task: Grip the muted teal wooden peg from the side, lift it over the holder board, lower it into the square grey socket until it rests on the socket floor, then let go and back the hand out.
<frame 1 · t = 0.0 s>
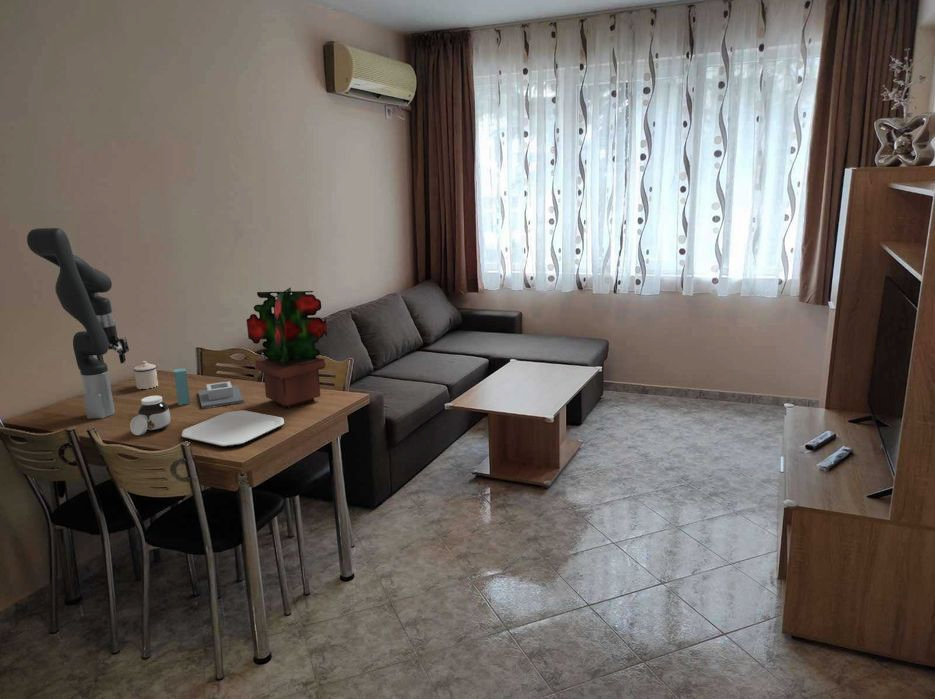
hand: (112, 362, 269), 17 cm above the table, tool pointing down, fingers open, 8 cm apart
teacup with lid: (145, 386, 295), on the table
spread jar: (151, 431, 243), on the table
teal peg: (184, 403, 272), on the table
potted plant: (293, 401, 271), on the table
plate: (234, 432, 240), on the table
socket holder: (220, 397, 277), on the table
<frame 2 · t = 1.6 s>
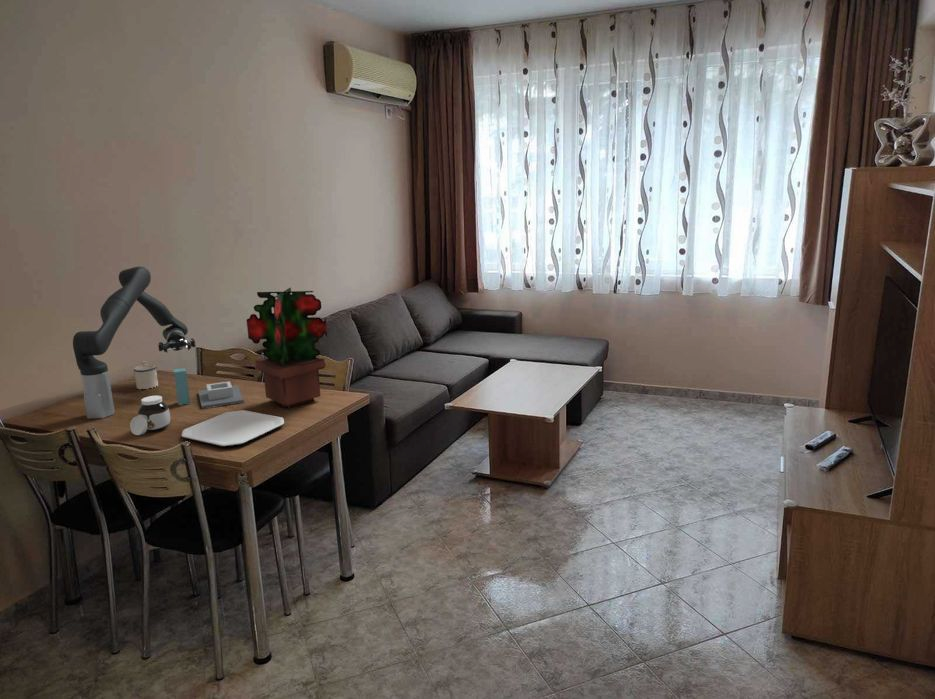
hand: (177, 348, 277), 20 cm above the table, tool horizontal, fingers open, 8 cm apart
nothing on the table moved.
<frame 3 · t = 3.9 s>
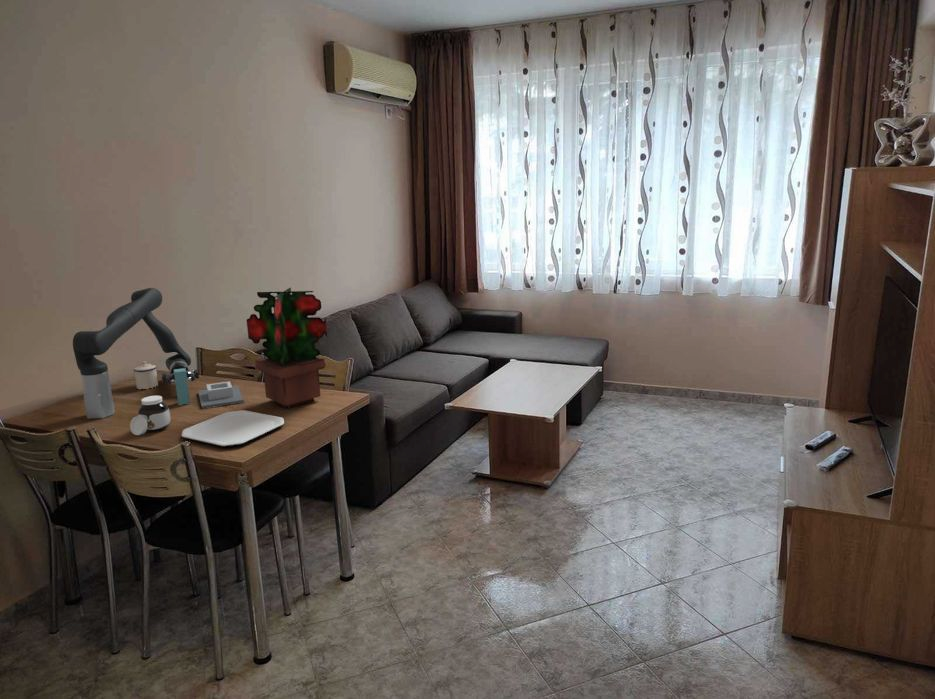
hand: (181, 380, 275), 8 cm above the table, tool horizontal, fingers open, 8 cm apart
nothing on the table moved.
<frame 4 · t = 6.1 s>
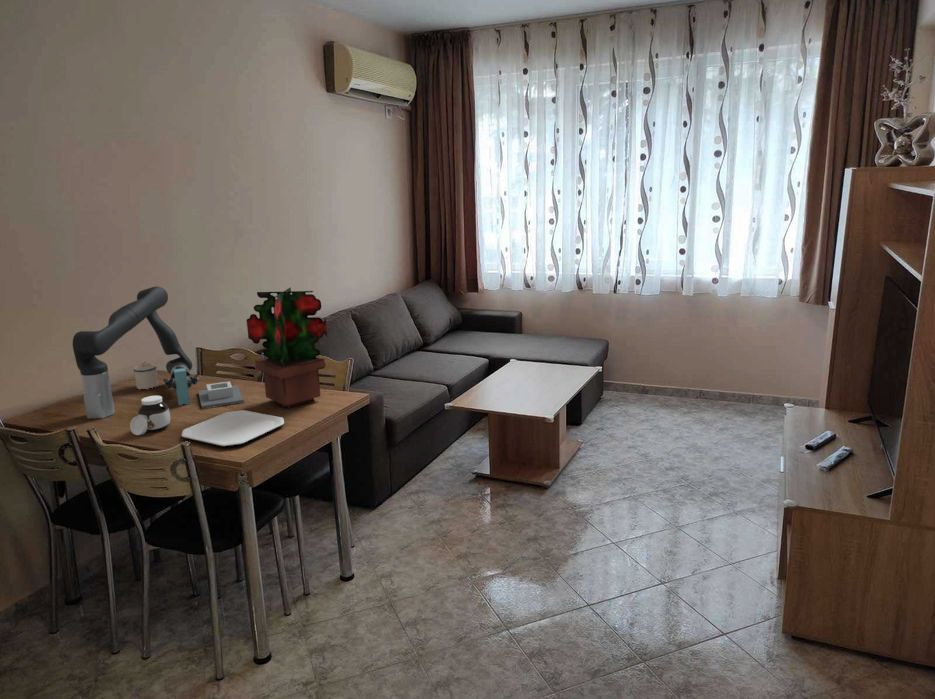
hand: (182, 386, 267), 8 cm above the table, tool horizontal, fingers closed on teal peg, 4 cm apart
teal peg: (184, 403, 272), on the table, touching gripper
everything else where it was.
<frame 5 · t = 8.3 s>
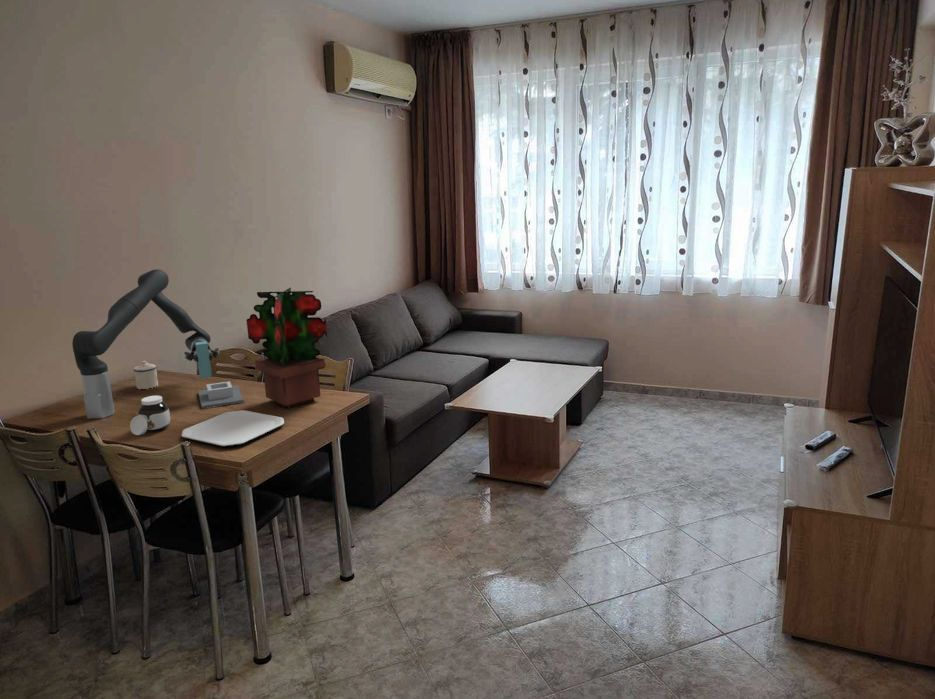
hand: (203, 358, 269), 18 cm above the table, tool horizontal, fingers closed on teal peg, 4 cm apart
teal peg: (205, 376, 273), point 10 cm above the table, touching gripper
everything else where it was.
when the fingers open (11 cm above the table, at t = 10.9 s): teal peg drops 1 cm, resting on socket holder.
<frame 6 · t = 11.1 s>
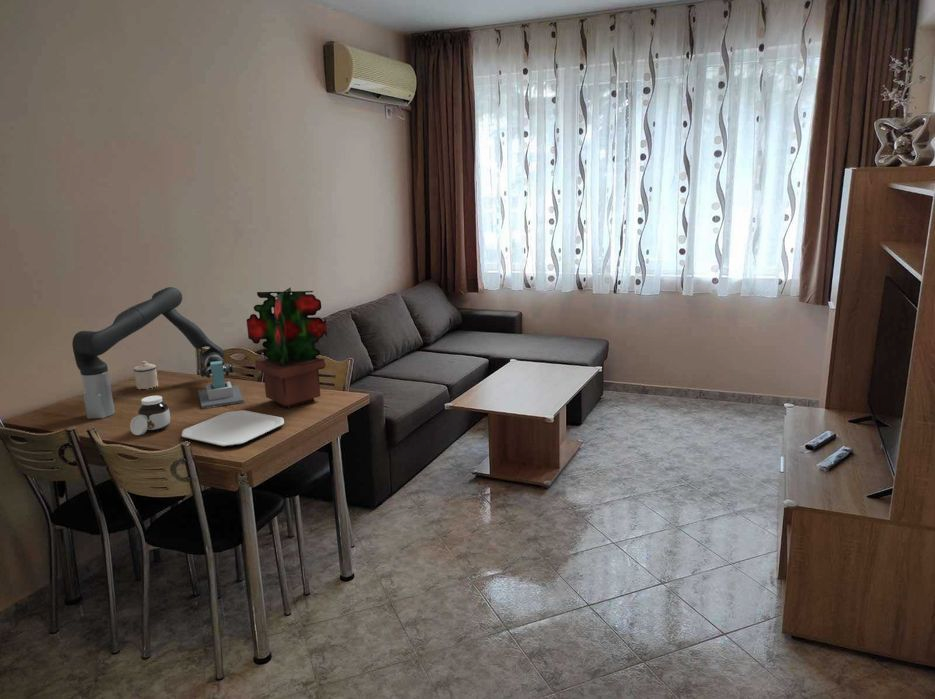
hand: (218, 374, 272), 11 cm above the table, tool horizontal, fingers open, 6 cm apart
teal peg: (220, 395, 277), point 1 cm above the table, touching socket holder
everything else where it was.
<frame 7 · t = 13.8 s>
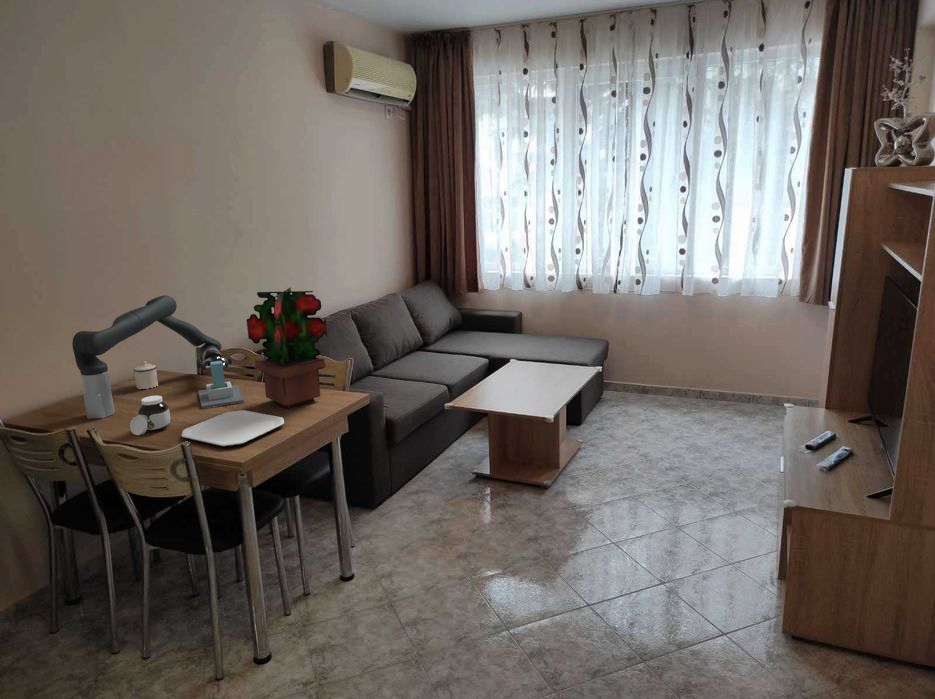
hand: (215, 366, 284), 11 cm above the table, tool horizontal, fingers open, 8 cm apart
nothing on the table moved.
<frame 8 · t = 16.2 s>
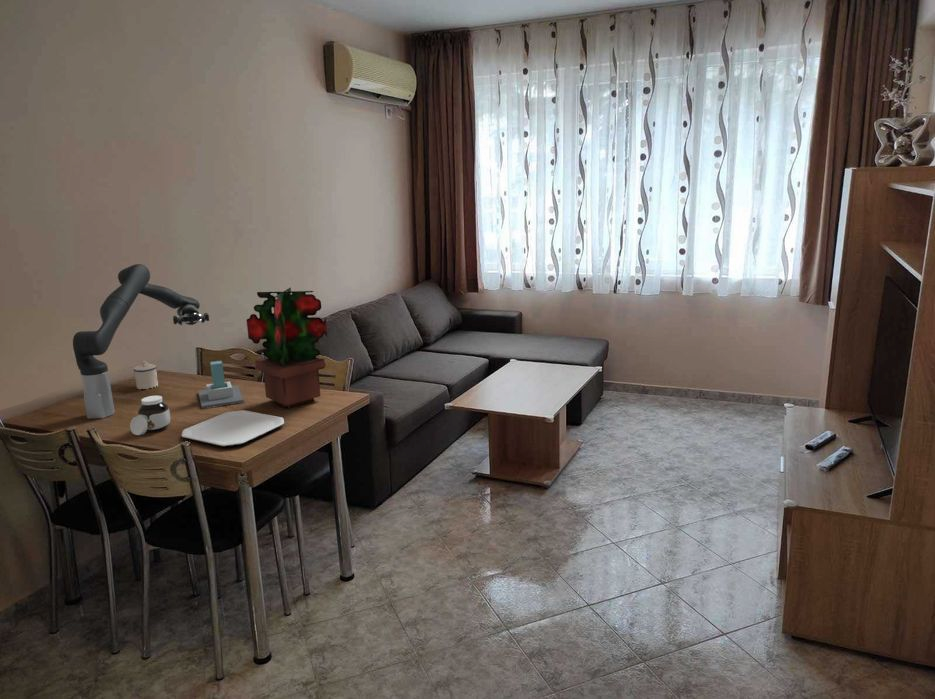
hand: (192, 321, 282), 30 cm above the table, tool horizontal, fingers open, 8 cm apart
nothing on the table moved.
at the end: teal peg 0.0 cm off-centre on the socket holder, point 1.2 cm above the socket holder's base; teal peg tilted 0°; the gripper is holding nothing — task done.
